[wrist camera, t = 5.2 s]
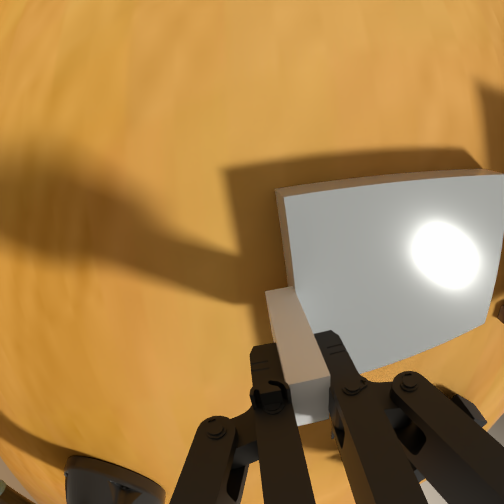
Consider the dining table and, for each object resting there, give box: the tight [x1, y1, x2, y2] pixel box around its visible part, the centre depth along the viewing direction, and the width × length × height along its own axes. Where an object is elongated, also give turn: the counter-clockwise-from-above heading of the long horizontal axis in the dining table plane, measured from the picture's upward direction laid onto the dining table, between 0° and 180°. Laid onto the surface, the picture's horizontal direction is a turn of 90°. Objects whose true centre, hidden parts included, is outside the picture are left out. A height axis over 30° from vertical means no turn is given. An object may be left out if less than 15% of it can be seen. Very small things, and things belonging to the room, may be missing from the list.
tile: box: [275, 169, 504, 374], centre depth 16 cm, size 16×12×3 cm
